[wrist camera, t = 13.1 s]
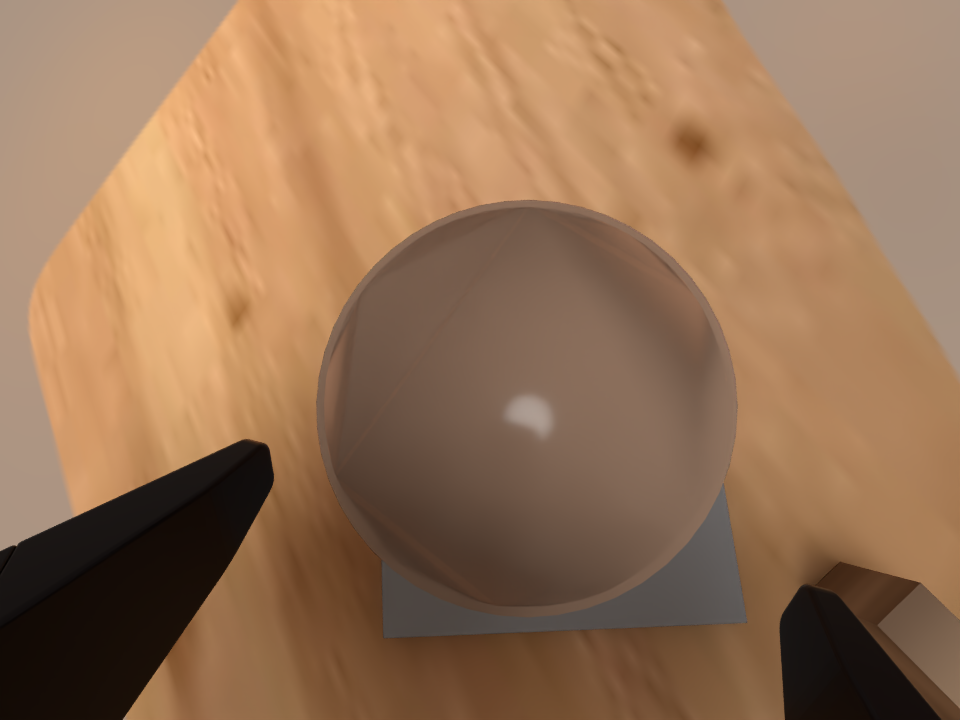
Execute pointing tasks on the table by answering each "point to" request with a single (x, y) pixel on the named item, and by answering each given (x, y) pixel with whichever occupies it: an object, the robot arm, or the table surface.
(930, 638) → the walnut rail
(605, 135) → the table surface
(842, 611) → the robot arm
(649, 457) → the terracotta jar
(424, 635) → the dark grey mat
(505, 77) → the table surface
